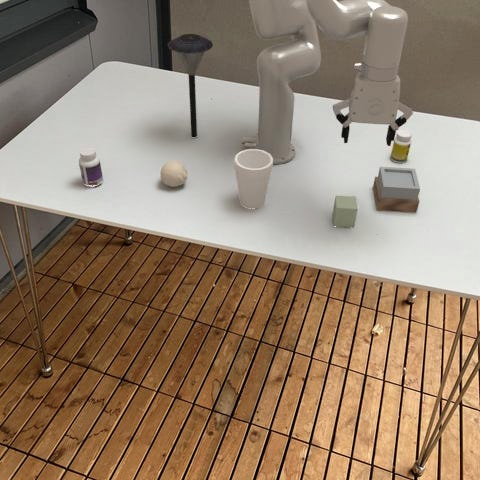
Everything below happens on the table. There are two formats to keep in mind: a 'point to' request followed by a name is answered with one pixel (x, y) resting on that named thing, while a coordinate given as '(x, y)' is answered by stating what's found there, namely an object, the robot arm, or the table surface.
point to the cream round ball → (173, 173)
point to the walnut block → (393, 202)
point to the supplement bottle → (401, 146)
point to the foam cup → (253, 176)
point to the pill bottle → (90, 167)
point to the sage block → (345, 211)
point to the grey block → (398, 183)
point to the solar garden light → (191, 64)
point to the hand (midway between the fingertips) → (366, 141)
